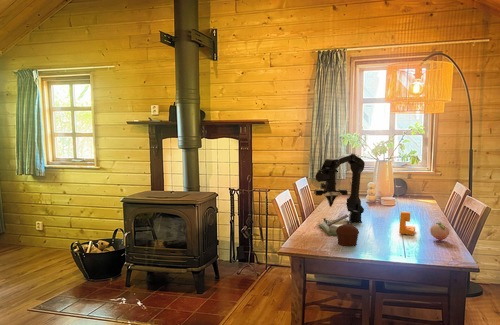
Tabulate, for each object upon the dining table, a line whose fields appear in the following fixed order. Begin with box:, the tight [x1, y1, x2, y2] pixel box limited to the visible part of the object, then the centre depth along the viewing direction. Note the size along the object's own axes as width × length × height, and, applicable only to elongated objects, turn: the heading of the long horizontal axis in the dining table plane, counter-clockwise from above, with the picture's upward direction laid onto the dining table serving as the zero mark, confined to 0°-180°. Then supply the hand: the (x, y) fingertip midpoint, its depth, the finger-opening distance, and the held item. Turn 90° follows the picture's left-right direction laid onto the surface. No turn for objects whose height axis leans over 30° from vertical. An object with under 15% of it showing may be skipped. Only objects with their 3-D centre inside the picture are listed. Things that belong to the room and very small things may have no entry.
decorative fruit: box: [429, 221, 451, 242], centre depth 194 cm, size 9×8×10 cm
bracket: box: [398, 211, 416, 236], centre depth 210 cm, size 11×7×12 cm, turn 151°
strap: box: [327, 214, 349, 226], centre depth 213 cm, size 13×3×1 cm, turn 93°
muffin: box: [336, 224, 360, 248], centre depth 191 cm, size 12×11×10 cm
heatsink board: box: [318, 217, 353, 237], centre depth 218 cm, size 16×23×6 cm
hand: (330, 206), depth 221 cm, fingers closed
